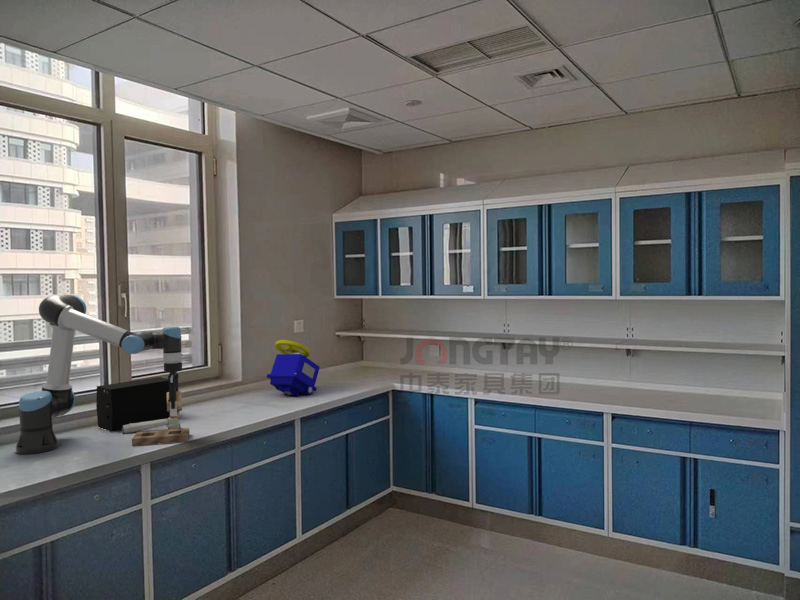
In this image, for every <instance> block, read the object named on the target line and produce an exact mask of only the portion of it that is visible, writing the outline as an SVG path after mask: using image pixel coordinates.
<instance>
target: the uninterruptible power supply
mask: <svg viewBox="0 0 800 600" xmlns="http://www.w3.org/2000/svg"><path fill="white" fill-rule="evenodd" d="M167 392H169V380H168V378H166V377H165V378H164V377H162V376H157V377H151V378H150V377H149V378H143V379H137V380H130V381H129V380H128V381H123V382H117V383H110V384H102V385H96V406H95V408H96V419H97V427H100V428H99V429H101V428H103V429H102V430H104V429H106V430H105V431H108V430H109V431H108V432H111V431H114V432H118V431H117V430H119V431H122V430H121V429H122V426H123V425H127V424H130V423H131V424H133V423H140V422H147V421H154V420H161V419H168V418H169V417H170V412H167Z"/></svg>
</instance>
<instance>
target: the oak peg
mask: <svg viewBox="0 0 800 600" xmlns="http://www.w3.org/2000/svg"><path fill="white" fill-rule="evenodd" d="M168 400H169V392H167V412H170V402H168ZM176 401H177V416H170V418H178V419H179V418H181V417H180V412H181V411H183V407H182V391H180V390H178V391H176Z"/></svg>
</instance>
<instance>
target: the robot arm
mask: <svg viewBox="0 0 800 600" xmlns="http://www.w3.org/2000/svg"><path fill="white" fill-rule="evenodd" d="M86 313H87V304H86V303H85V301H84V300H83V299H82V298H81V297H79V296H77V295H75V294H61V295H50V296H47V297H45V298H44V299H43V300H42V301H41V302H40V303H39V306H38V314H39V316H40V318H41V319H43V321H45V322H47V323H49V326H50V327H51V328H52V334H51V344H50V352H49V358H48V359H49V360H48V361H49V362H48V368H47V369H48V371H47V378H46V382H45V383H44V384H42V386H41V390H38V391H33V392H29V393H25V394H24V395H22V396H21V397H20V398H19V401H18V403H19V404H18V410H19V413H18V414H19V435H18V437H17V438H18V439H17V443H16V445H15V453H17V454H20V455H31V454H34V455H35V454H40V453H45V452H50V451H53V450H54V449H57V448H58V447H59V440H58V437H57V436H56V434H55V431H54V429H53V428H54V427H53V419H55V418H58V417H61V416H64V415H65V414H67V413H69V412H70V411H71V410H73V408H74V407H75V404H76V401H77V399H76V395H75V393H74V391H73V385H72V384H71V383H70V378H71V377H70V375H71V367H72V362H73V361H72V359H73V351H74V345H75V344H74V343H75V335H76V331H77V332H80V333H81V334H84V335H88V336H89V337H92V338H95V339H98V340H100V341H103V342H106V343H108V344H111V345H113V346H116V347H118V348H120V349H122V350H123V351H124V352H125V353H126V354H129V355H134V354H135V355H136V354H139V353H141V352H145V351H149V350H161V349H162V350H163V352H162V357H163V362H164V363H163V371H164V372H166V373H169V374H168V375H167V379H168V380H169V400H168V402H170V416H177V401H176V391H179V378H180V377H179V373H177V372H181V371H182V370H183V362H182V361H183V359H182V357H183V356H184V354H183V353H182V351H183V350H182V330H181V328H180V327H179V326H165V327H163V328H162V330H161V331H141V332H140V331H139V332H136V333H135V332H132V331H130V330H127V329H125V328H122V327H119V326H117V325H114V324H113V323H109V322H107V321H104V320H102V319H100V318H96V317H94V316H91V315H88V314H86Z"/></svg>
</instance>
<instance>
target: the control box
mask: <svg viewBox="0 0 800 600" xmlns="http://www.w3.org/2000/svg"><path fill="white" fill-rule="evenodd" d="M282 346H287V347H285V348H283V347H282ZM274 348H275V350H277V351H278V352H280V353H279V354H278V353H277V354H276V356H275V358H274V363H273V364H272V365H273V366H272V368H271V372H268V373H267V375H266V378H267V379H269V380H270V381H269V384H270V385H271V386H273V387H274V388H275V390H276V391H277V390H278V391H279V392H282V393H283V394H284V395H285V394H286V396H288V395H289V396H295V395H296V397H298V395H299V393H301V394H302V395H303V394H307V395H309V396H310V395H312V394H313V392H316V391H317V386H316V383H317V379H318V375H319V372H320V368H321V367H320V366H319V365H318V364H316V363H315V362H314V361H312V360H311V359H310V358H308V357H309V356H310V354H311V351H310V349H309V347H307V346H306V345H304V344H301V342H300V343H299V342H297V341H294V340H288V339H279V340H277V341H276V342H275V344H274ZM281 353H282V354H281Z"/></svg>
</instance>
